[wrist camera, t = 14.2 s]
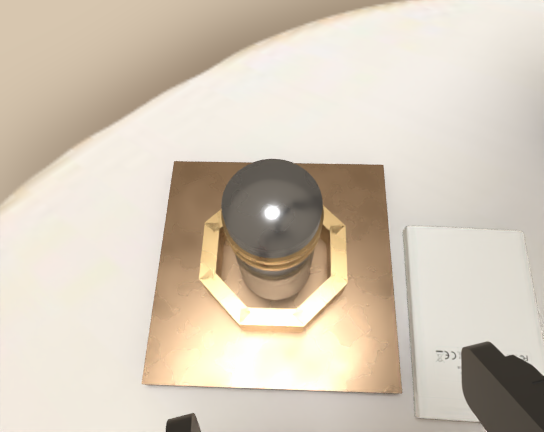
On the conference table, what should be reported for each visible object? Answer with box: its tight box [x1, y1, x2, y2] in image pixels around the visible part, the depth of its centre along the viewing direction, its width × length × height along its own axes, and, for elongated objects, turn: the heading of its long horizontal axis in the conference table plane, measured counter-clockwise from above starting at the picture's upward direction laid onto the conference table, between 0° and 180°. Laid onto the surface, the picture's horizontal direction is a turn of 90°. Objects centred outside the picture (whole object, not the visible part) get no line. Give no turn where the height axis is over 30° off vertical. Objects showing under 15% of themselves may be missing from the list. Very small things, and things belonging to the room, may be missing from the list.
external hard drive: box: [403, 225, 544, 422], centre depth 28 cm, size 2×8×12 cm
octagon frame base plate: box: [142, 161, 402, 394], centre depth 29 cm, size 16×16×4 cm
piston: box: [221, 159, 324, 300], centre depth 25 cm, size 5×5×10 cm
